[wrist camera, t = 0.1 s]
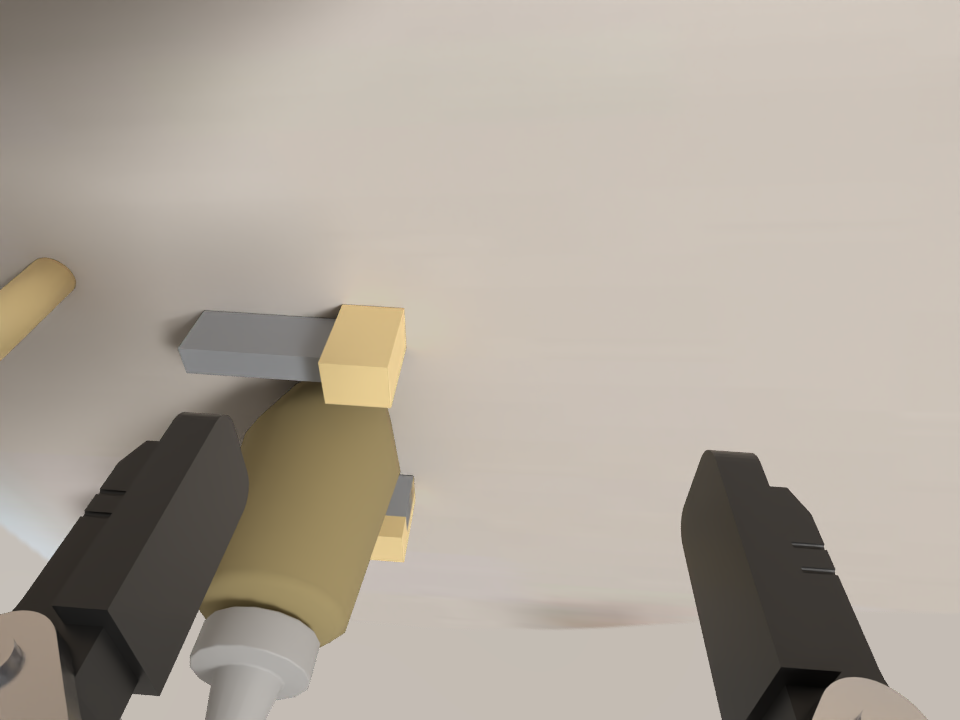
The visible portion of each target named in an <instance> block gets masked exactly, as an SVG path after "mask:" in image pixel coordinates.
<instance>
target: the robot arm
mask: <svg viewBox="0 0 960 720" xmlns="http://www.w3.org/2000/svg"><path fill="white" fill-rule="evenodd" d="M248 491H249V477H248V472H247V469H246V465H245V462H244V458H243V455H242V451H241V448H240V444H239V441H238V437H237V434H236V431H235V427H234V424H233V421H232V419H231V418H230V417H229V416H228V415H217V414H202V413H188V412H183V413H180V414H179V415H177V416H176V417H175V419H174V420H173V422H172V423H171V425H170V426H169V428H168V429H167V431H166V432H165V434H164V435H163V437H162V438H161V440H160V441H146V442H144V443H143V444H142V445H140V446H139V447H138V448H137V449H135V450H134V451H133V452H131V453H130V454H129V455H128V456H126V457H125V458H124V459H123V460H121V461H120V462H119V463H118V464H117V465H116V467H115V468H114V470H113V471H112V473H111V474H110V475H109V477H108V478H107V480H106V481H105V482H104V484H103V485H102V487H101V488H100V493H99V494H96V495H95V497H94V498H93V499H92V501H91V502H90V504H89V505H88V507H87V508H86V509H85V514H84V516H83V517H81V516H80V518H79V519H78V521H77V522H76V524H75V525H74V526H73V528H72V529H71V531H70V532H69V534H68V535H67V536H66V538H65V539H64V541H63V542H62V543H61V545H60V546H59V548H58V549H57V551H56V552H55V553H54V555H53V556H52V558H51V559H50V560H49V562H48V563H47V565H46V566H45V568H44V569H43V570H42V572H41V573H40V575H39V576H38V578H37V579H36V580H35V582H34V583H33V585H32V586H31V587H30V589H29V590H28V592H27V593H26V595H25V596H24V597H23V599H22V600H21V601H20V602H19V604H18V605H17V606H16V607H15V608H14V609H13V611H12V612H8V613H4V614H0V720H122V719H121V716H122V714H123V712H124V710H125V708H126V705H127V703H128V701H129V699H130V697H131V695H132V694H141V695H154V696H160V694H161V692H162V690H163V687H164V685H165V683H166V681H167V679H168V676H169V674H170V672H171V670H172V668H173V665H174V663H175V661H176V659H177V657H178V654H179V652H180V650H181V648H182V645H183V643H184V641H185V639H186V637H187V635H188V632H189V630H190V628H191V626H192V623H193V621H194V619H195V617H196V614H197V613H198V610H199V608H200V606H201V604H202V602H203V599H204V597H205V595H206V593H207V591H208V588H209V586H210V584H211V582H212V580H213V577H214V575H215V573H216V571H217V569H218V566H219V564H220V562H221V560H222V558H223V555H224V553H225V551H226V549H227V547H228V544H229V542H230V540H231V538H232V536H233V533H234V531H235V529H236V527H237V525H238V522H239V520H240V518H241V516H242V514H243V511H244V509H245V506H246V502H247V498H248ZM681 537H682V544H683V549H684V553H685V558H686V562H687V567H688V571H689V576H690V580H691V585H692V589H693V593H694V598H695V602H696V607H697V611H698V616H699V620H700V625H701V629H702V633H703V638H704V642H705V647H706V651H707V656H708V660H709V664H710V669H711V673H712V678H713V682H714V686H715V691H716V696H717V700H718V704H719V709H720V713H721V718H722V720H928V719H927V718H926V717H925V716H924V715H923V714H922V713H921V711H920V710H919V709H918V708H917V707H916V706H915V705H914V704H912V703H911V702H910V701H909V700H908V699H907V698H905V697H904V696H902V695H901V694H900V693H898V692H897V691H895V690H893V689H892V688H890V687H889V686H888V684H887V683H886V681H885V680H884V678H883V676H882V674H881V672H880V670H879V668H878V666H877V664H876V661H875V659H874V657H873V654H872V652H871V650H870V648H869V645H868V643H867V641H866V639H865V636H864V634H863V632H862V629H861V627H860V625H859V622H858V620H857V618H856V616H855V613H854V611H853V609H852V606H851V604H850V602H849V600H848V597H847V595H846V593H845V590H844V588H843V586H842V584H841V581H840V579H839V577H838V576H837V575H835V568H834V565H833V563H832V561H831V558H830V556H829V554H828V552H827V550H824V542H823V540H822V538H821V536H820V533H819V531H818V529H817V526H816V524H815V522H814V520H813V517H812V515H811V514H810V512H809V511H808V510H807V509H806V508H805V507H804V506H803V505H802V504H801V503H800V501H799V500H798V499H797V498H796V497H795V496H794V495H793V494H792V493H791V492H790V490H789V489H788V488H784V487H770V486H769V484H768V481H767V478H766V476H765V473H764V471H763V468H762V466H761V463H760V461H759V459H758V457H757V456H756V455H755V454H753V453H743V452H729V451H715V450H706V451H705V452H704V453H703V455H702V457H701V460H700V462H699V465H698V468H697V471H696V474H695V477H694V479H693V482H692V485H691V488H690V491H689V493H688V496H687V499H686V502H685V505H684V508H683V512H682V519H681Z"/></svg>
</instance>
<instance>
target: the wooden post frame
mask: <svg viewBox="0 0 960 720" xmlns="http://www.w3.org/2000/svg"><path fill="white" fill-rule="evenodd" d="M75 286H76V281H75V278H74V276H73V274H72V273H71V271H70V270H69V269H68V268H67V267H66V266H64V265H63V264H61V263H60V262H58V261H56V260H53V259H50V258H39V259H37V260H35V261H34V262H33V263H32V264H31V265H29V266H28V267H27V268H26V269H25V270H23V271H22V272H21V273H20V274H19V275H17V276H16V277H15V278H14V279H13V280H12V281H10V282H9V283H8V284H7V285H6V286H4V287H3V288H2V289H1V290H0V361H1V360H2V359H3V358H4V357H5V356H6V355H7V354H8V353H9V352H10V351H11V350H12V349H13V348H14V347H15V346H16V345H17V344H18V343H19V342H20V341H21V340H22V339H24V338H25V337H26V336H27V335H28V334H29V333H30V332H31V331H32V330H33V329H34V328H35V327H36V326H37V325H38V324H39V323H40V322H41V321H42V320H43V319H44V318H45V317H46V316H47V315H48V314H49V313H50V312H51V311H52V310H53V309H54V308H55V307H56V306H57V305H58V304H59V303H60V302H61V301H62V300H63V299H64V298H65V297H67V296H68V295H69V294H70V293H71V292H72V291H73V290H74V288H75ZM178 350H179V353H180V356H181V359H182V362H183V364H184V367H185V370H186V373H194V374H208V375H223V376H238V377H252V378H267V379H282V380H296V381H311V382H321V383H322V388H323V394H324V400H325V404H339V405H353V406H368V407H382V408H391V406H392V402H393V398H394V394H395V390H396V386H397V382H398V378H399V374H400V370H401V366H402V362H403V359H404V355H405V351H406V334H405V316H404V308H388V307H373V306H357V305H342V306H341V309H340V311H339V314H338V316H337V318H336V319H327V318H311V317H296V316H281V315H265V314H250V313H234V312H219V311H204V312H203V313H202V314H201V316H200V317H199V319H198V320H197V322H196V323H195V324H194V326H193V327H192V329H191V330H190V332H189V333H188V334H187V336H186V337H185V339H184V340H183V342H182V343H181V344H180V346H179V347H178ZM414 504H415V490H414V476H407V475H399V477H398V480H397V483H396V486H395V489H394V492H393V494H392V497H391V500H390V503H389V506H388V509H387V512H386V515H385V518H384V521H383V523H382V526H381V529H380V532H379V535H378V538H377V541H376V544H375V547H374V550H373V552H372V555H371V558H370V560H381V561H394V562H404V559H405V554H406V548H407V543H408V537H409V532H410V526H411V521H412V515H413V510H414Z"/></svg>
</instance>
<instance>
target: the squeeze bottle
mask: <svg viewBox="0 0 960 720" xmlns="http://www.w3.org/2000/svg"><path fill="white" fill-rule="evenodd" d="M241 451H242V455H243V458H244V462H245V465H246V469H247V472H248V477H249V491H248V498H247V502H246V506H245V509H244V511H243V514H242V516H241V518H240V520H239V522H238V525H237V527H236V529H235V531H234V533H233V536H232V538H231V540H230V542H229V544H228V547H227V549H226V551H225V553H224V555H223V558H222V560H221V562H220V564H219V566H218V569H217V571H216V573H215V575H214V577H213V580H212V582H211V584H210V586H209V588H208V591H207V593H206V595H205V597H204V599H203V602H202V604H201V606H200V608H199V610H200V612H201V613H202V615H203V616H204V617H205V619H206V620H205V622H204V624H203V626H202V629H201V631H200V633H199V636H198V638H197V640H196V643H195V645H194V648H193V650H192V652H191V655H190V667H191V669H192V670H193V671H194V673H195V674H196V675H197V676H198V677H199V678H200V679H201V680H203V681H204V682H206V683H208V684H209V685H211V689H210V695H209V700H208V706H207V712H206V718H205V720H266V718H267V716H268V714H269V712H270V710H271V708H272V706H273V704H274V702H275V701H276V700H281V699H286V698H292V697H295V696H297V695H299V694H301V693H302V692H304V691H306V690H307V689H308V687H309V684H310V680H311V677H312V673H313V669H314V665H315V662H316V657H317V654H318V650H319V648H320V647H322V646H324V645H326V644H327V643H330V642H331V641H333V640H334V639H336V638H337V637H339V636H340V635H342V634H343V633H345V631H346V628H347V625H348V622H349V619H350V616H351V613H352V610H353V608H354V605H355V602H356V599H357V596H358V593H359V590H360V587H361V584H362V581H363V579H364V576H365V573H366V570H367V567H368V564H369V561H370V558H371V555H372V552H373V550H374V547H375V544H376V541H377V538H378V535H379V532H380V529H381V526H382V523H383V521H384V518H385V515H386V512H387V509H388V506H389V503H390V500H391V497H392V494H393V492H394V489H395V486H396V483H397V480H398V477H399V474H400V466H399V461H398V456H397V451H396V445H395V440H394V435H393V430H392V424H391V420H390V416H389V412H388V408H382V407H368V406H353V405H339V404H325V400H324V394H323V388H322V383H321V382H311V381H302V382H299V383H297V384H296V385H295V386H294V387H293V388H292V389H290V390H289V391H288V392H287V393H286V394H285V395H284V396H283V397H281V398H280V399H279V400H278V401H277V402H276V403H275V404H273V405H272V406H271V407H270V408H269V409H268V410H267V411H265V412H264V413H263V414H262V415H261V416H260V417H259V418H258V419H257V420H256V421H255V423H254V424H253V425H252V426H251V427H250V428H249V430H248V431H247V432H246V433H245V436H244V439H243V442H242V445H241Z"/></svg>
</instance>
